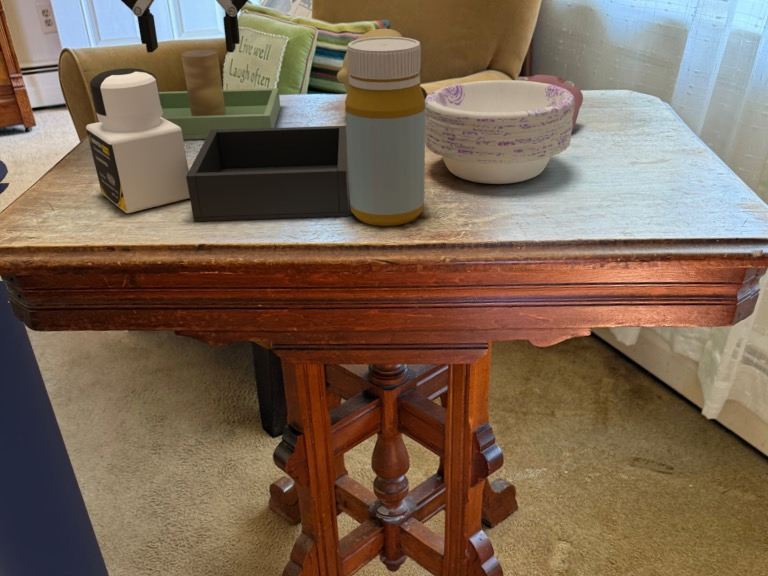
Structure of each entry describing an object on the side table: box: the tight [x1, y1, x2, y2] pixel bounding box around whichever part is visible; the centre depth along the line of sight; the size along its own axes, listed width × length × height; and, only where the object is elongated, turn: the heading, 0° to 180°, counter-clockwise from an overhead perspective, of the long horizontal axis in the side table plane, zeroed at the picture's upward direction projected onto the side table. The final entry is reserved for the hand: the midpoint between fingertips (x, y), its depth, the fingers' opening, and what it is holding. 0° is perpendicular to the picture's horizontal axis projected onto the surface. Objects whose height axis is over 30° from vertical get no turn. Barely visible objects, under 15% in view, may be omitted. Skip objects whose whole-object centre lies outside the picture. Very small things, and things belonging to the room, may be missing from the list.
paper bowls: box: [425, 79, 575, 185], centre depth 79 cm, size 15×15×8 cm
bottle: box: [344, 36, 426, 227], centre depth 68 cm, size 7×7×15 cm
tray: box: [159, 87, 281, 141], centre depth 98 cm, size 18×14×3 cm
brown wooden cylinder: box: [181, 49, 226, 116], centre depth 96 cm, size 4×4×8 cm
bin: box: [186, 125, 349, 222], centre depth 76 cm, size 15×15×4 cm
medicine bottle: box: [85, 67, 190, 214], centre depth 74 cm, size 7×7×12 cm
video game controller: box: [515, 74, 584, 130], centre depth 93 cm, size 10×5×7 cm, turn 62°
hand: (192, 50), depth 93 cm, fingers open, 9 cm apart
